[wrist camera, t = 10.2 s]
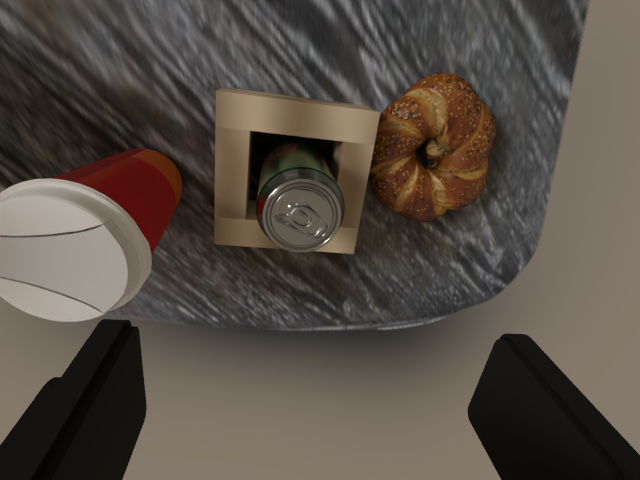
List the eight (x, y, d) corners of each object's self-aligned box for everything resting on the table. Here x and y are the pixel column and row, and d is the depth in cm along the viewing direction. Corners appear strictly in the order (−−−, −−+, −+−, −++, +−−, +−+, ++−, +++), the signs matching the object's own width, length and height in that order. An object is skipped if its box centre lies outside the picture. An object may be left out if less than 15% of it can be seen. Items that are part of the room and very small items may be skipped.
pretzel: (376, 63, 28) (389, 62, 25) (504, 82, 30) (533, 83, 27) (351, 209, 33) (360, 224, 30) (463, 218, 35) (483, 234, 31)
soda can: (287, 120, 29) (293, 151, 18) (335, 159, 31) (367, 209, 20) (250, 170, 30) (236, 226, 20) (298, 205, 32) (309, 274, 21)
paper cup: (97, 217, 31) (-27, 320, 18) (96, 123, 28) (-55, 171, 15) (193, 232, 32) (140, 338, 20) (202, 145, 29) (146, 204, 17)
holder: (366, 105, 29) (380, 112, 25) (344, 231, 34) (353, 254, 30) (224, 87, 28) (215, 90, 24) (222, 222, 32) (214, 244, 28)
